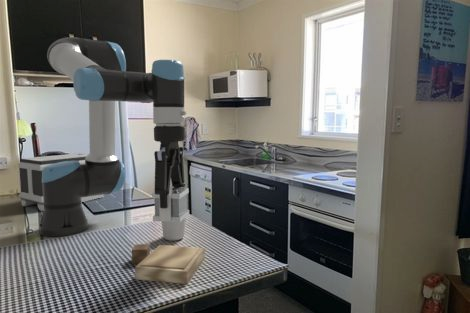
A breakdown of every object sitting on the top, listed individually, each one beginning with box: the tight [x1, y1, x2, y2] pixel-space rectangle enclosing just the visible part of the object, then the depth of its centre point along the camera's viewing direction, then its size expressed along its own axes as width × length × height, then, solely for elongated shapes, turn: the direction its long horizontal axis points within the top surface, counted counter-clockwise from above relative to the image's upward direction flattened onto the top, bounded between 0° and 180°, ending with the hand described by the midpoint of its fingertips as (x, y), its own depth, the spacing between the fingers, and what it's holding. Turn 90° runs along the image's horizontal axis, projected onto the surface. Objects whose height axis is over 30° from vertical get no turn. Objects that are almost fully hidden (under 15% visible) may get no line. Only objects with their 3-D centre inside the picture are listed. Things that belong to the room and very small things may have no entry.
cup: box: [160, 217, 187, 241], centre depth 114 cm, size 11×8×8 cm
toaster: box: [17, 152, 105, 212], centre depth 162 cm, size 18×34×21 cm, turn 147°
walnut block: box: [131, 243, 151, 265], centre depth 95 cm, size 4×4×4 cm
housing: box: [151, 187, 190, 222], centre depth 88 cm, size 7×7×7 cm
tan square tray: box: [134, 244, 206, 285], centre depth 90 cm, size 13×15×3 cm
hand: (171, 216), depth 89 cm, fingers closed on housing, 7 cm apart
